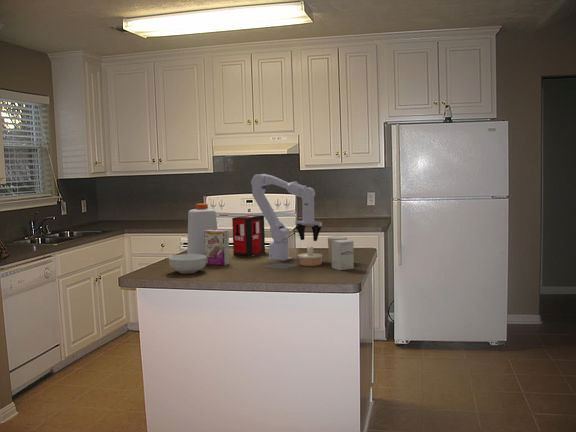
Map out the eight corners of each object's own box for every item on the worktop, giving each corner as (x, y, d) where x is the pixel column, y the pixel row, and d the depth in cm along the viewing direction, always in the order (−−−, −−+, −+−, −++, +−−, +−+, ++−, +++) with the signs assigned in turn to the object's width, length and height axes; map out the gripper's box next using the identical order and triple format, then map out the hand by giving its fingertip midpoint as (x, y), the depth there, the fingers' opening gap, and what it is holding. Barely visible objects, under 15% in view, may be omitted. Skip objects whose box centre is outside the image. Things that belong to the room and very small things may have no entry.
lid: (292, 256, 267) (292, 248, 267) (307, 253, 276) (307, 244, 276) (312, 259, 260) (312, 249, 260) (327, 255, 269) (327, 246, 269)
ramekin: (295, 265, 268) (295, 256, 268) (308, 262, 276) (307, 253, 276) (313, 267, 262) (313, 258, 262) (325, 263, 270) (325, 255, 270)
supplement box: (340, 270, 252) (339, 242, 251) (331, 268, 259) (330, 240, 258) (354, 268, 256) (353, 240, 255) (345, 266, 262) (344, 239, 261)
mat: (263, 267, 264) (263, 266, 264) (278, 263, 274) (278, 262, 274) (283, 270, 257) (283, 269, 257) (299, 265, 267) (299, 264, 267)
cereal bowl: (189, 277, 246) (188, 260, 246) (161, 274, 255) (160, 258, 254) (214, 270, 261) (214, 255, 260) (187, 267, 269) (186, 252, 269)
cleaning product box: (247, 257, 295) (246, 218, 293) (233, 256, 299) (232, 217, 297) (265, 252, 309) (263, 215, 307) (251, 251, 314) (250, 215, 312)
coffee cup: (346, 264, 267) (346, 238, 266) (326, 264, 269) (326, 238, 268) (348, 260, 277) (348, 236, 275) (329, 260, 278) (328, 236, 277)
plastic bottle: (213, 255, 304) (211, 202, 301) (222, 259, 290) (220, 204, 287) (185, 257, 297) (183, 203, 295) (193, 262, 284) (191, 205, 281)
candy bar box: (204, 264, 276) (203, 230, 274) (210, 262, 280) (209, 229, 279) (224, 265, 271) (223, 231, 270) (230, 264, 276) (228, 230, 274)
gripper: (291, 212, 279) (291, 240, 280) (316, 213, 271) (316, 242, 272) (299, 211, 285) (300, 238, 286) (324, 212, 276) (324, 240, 277)
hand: (308, 240), depth 279 cm, fingers open, 7 cm apart
